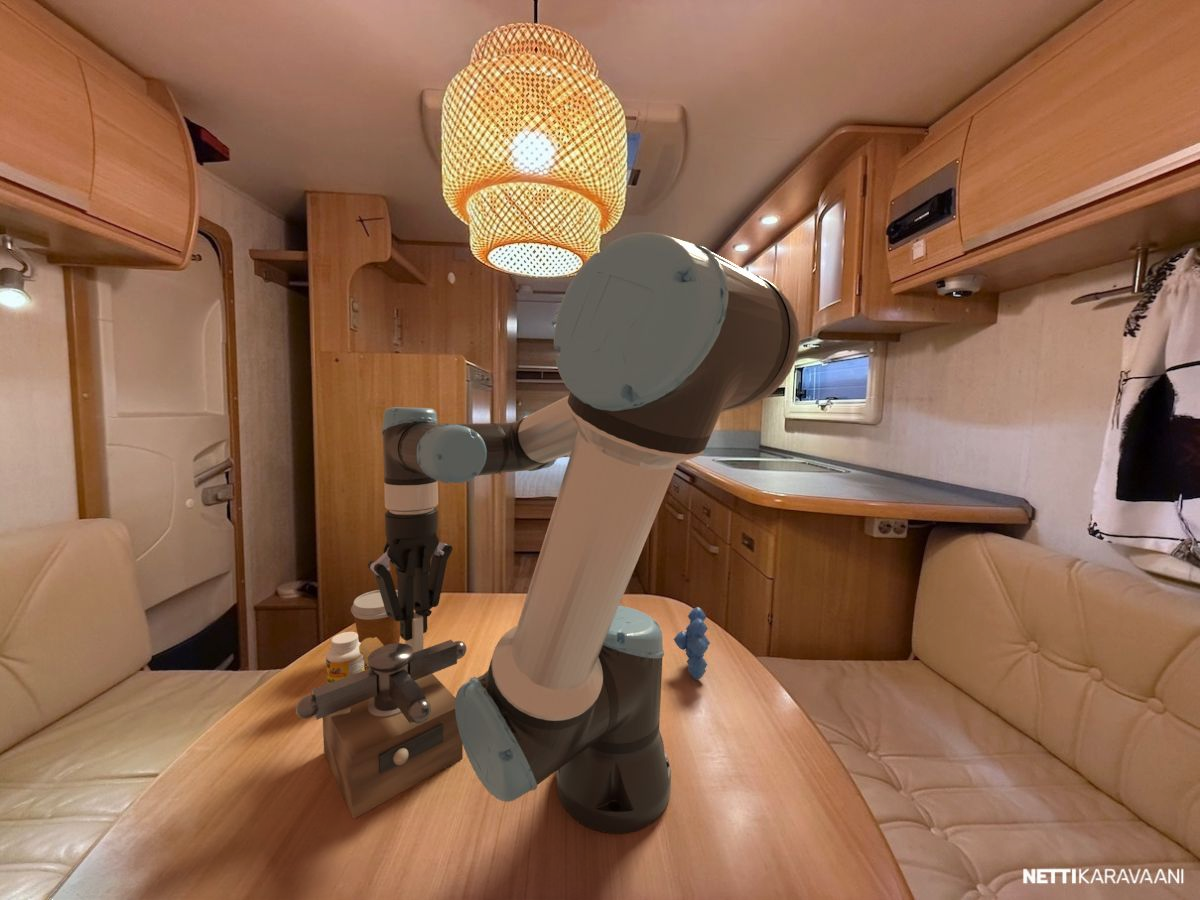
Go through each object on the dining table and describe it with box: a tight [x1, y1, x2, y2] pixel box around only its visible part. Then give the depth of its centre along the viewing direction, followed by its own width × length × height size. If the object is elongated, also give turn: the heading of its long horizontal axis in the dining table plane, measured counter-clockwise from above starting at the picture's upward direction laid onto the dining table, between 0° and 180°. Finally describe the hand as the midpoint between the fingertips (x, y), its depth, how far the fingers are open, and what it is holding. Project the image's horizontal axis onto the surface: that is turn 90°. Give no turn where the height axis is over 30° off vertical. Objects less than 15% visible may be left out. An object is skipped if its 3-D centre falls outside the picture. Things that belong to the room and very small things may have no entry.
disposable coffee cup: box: [350, 589, 401, 666], centre depth 87 cm, size 10×10×12 cm
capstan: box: [295, 637, 467, 723], centre depth 63 cm, size 22×22×7 cm
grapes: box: [673, 606, 711, 681], centre depth 85 cm, size 12×7×12 cm, turn 172°
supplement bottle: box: [325, 631, 365, 684], centre depth 76 cm, size 6×6×10 cm
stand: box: [322, 673, 464, 820], centre depth 63 cm, size 16×14×8 cm
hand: (414, 655), depth 71 cm, fingers closed
